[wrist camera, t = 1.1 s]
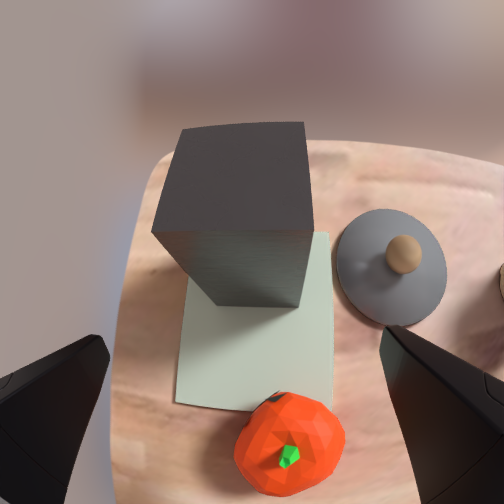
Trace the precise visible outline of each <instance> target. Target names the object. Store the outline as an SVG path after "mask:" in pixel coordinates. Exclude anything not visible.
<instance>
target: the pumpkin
mask: <svg viewBox="0 0 504 504" xmlns="http://www.w3.org/2000/svg"><path fill="white" fill-rule="evenodd" d="M279 391H280V390H279ZM279 391H277V392H276V393H274V394H273V395H271V396H270V397H269V398H267V399H265V401H263V402H262V403H260V404H259V405H258V406H257V408H256V409H255V410H254V412H253V413H252V415H251V416H250V418H249V419H248V420H247V422H246V423H245V425H244V427H243V428H242V429H243V430H242V432H241V431H240V432H241V434H240V436H239V438H238V440H237V442H236V444H235V450H234V460H235V462H236V464H237V466H238V469H239V470H240V472H241V473H242V475H243V476H244V478H245V479H246V480H247V481H248V482H249V483H250V484H251V485H252V486H253V487H254V488H255V489H256V490H257V491H258V492H260V493H263V494H265V495H269V496H276V497H286V496H291V495H293V494H296V493H298V492H301V491H303V490H305V489H308V488H310V487H312V486H314V485H317V484H319V483H320V482H321V481H323V480H324V479H326V478H327V477H328V476H330V475H331V474H332V473H333V471H334V469H335V467H336V465H337V463H338V461H339V460H340V457H341V454H342V451H343V448H344V445H345V432H344V430H343V428H342V426H341V424H340V422H339V420H338V418H337V417H336V416H335V415H334V414H333V413H332V412H331V411H330V410H329V409H328V408H327V407H326V406H325V405H324V404H323V403H322V402H319V401H316V400H313V399H310V398H308V397H305V396H301V395H298V394H294V393H291V392H279ZM278 392H279V393H278Z"/></svg>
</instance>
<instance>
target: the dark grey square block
mask: <svg viewBox="0 0 504 504" xmlns="http://www.w3.org/2000/svg"><path fill="white" fill-rule="evenodd" d="M151 232H152V234H153V235H154V236H155V237H156V238H157V239H158V241H159V242H160V243H161V244H162V245H163V247H164V248H165V249H166V250H167V251H168V252H169V254H170V255H171V256H172V257H173V258H174V259H175V260H176V262H177V263H178V264H179V265H180V266H181V267H182V268H183V270H184V271H185V272H186V273H187V274H188V275H189V276H190V277H191V278H192V280H193V281H194V282H195V283H196V284H197V285H198V286H199V287H200V288H201V289H202V291H203V292H204V293H205V294H206V295H207V296H208V297H209V298H210V299H211V300H212V301H213V302H214V303H215V305H216V306H233V307H267V308H299V304H300V300H301V295H302V290H303V285H304V281H305V276H306V271H307V266H308V260H309V255H310V250H311V244H312V239H313V233H314V221H313V207H312V194H311V183H310V173H309V163H308V154H307V145H306V137H305V129H304V122H259V123H241V124H228V125H218V126H207V127H198V128H190V129H183V130H182V133H181V135H180V138H179V141H178V144H177V147H176V150H175V152H174V155H173V158H172V161H171V164H170V167H169V170H168V174H167V177H166V180H165V183H164V187H163V190H162V193H161V197H160V200H159V204H158V207H157V211H156V215H155V218H154V222H153V226H152V230H151Z"/></svg>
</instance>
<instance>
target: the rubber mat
mask: <svg viewBox="0 0 504 504" xmlns="http://www.w3.org/2000/svg"><path fill="white" fill-rule="evenodd" d="M333 372H334V314H333V286H332V267H331V252H330V239H329V232H314V233H313V239H312V244H311V250H310V255H309V260H308V266H307V271H306V276H305V281H304V285H303V290H302V295H301V300H300V304H299V308H267V307H233V306H216V305H215V303H214V302H213V301H212V300H211V299H210V298H209V297H208V296H207V295H206V294H205V293H204V292H203V291H202V289H201V288H200V287H199V286H198V285H197V284H196V283H195V282H194V281H193V280H192V278H191V277H190V276H189V277H188V284H187V291H186V299H185V306H184V314H183V323H182V332H181V341H180V351H179V361H178V372H177V385H176V399H175V402H179V403H185V404H191V405H197V406H204V407H212V408H220V409H229V410H240V411H254V410H255V409H256V408H257V406H258V405H259V404H260V403H262V402H263V401H265V399H267V398H269V397H270V396H271V395H273V394H274V393H276V392H277V391H279V390H280V391H279V392H291V393H294V394H298V395H301V396H305V397H308V398H310V399H313V400H316V401H319V402H322V403H323V404H324V405H325V406H326V407H327V408H328V409H329V410H330V411H331V412H332V399H333ZM279 392H278V393H279Z"/></svg>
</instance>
